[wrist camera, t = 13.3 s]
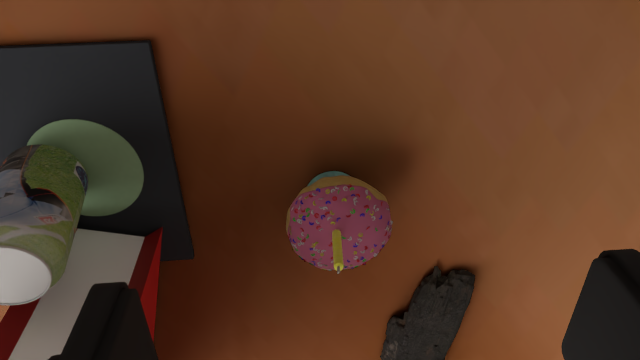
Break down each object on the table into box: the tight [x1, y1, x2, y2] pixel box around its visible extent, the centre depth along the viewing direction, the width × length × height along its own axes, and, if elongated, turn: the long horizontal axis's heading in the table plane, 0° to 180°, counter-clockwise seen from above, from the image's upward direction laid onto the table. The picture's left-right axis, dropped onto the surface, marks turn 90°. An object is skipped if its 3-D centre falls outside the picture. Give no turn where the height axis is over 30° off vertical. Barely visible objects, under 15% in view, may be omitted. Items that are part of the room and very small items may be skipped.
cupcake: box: [286, 171, 393, 274], centre depth 38 cm, size 9×8×12 cm
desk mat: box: [0, 40, 194, 261], centre depth 39 cm, size 20×14×1 cm
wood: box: [380, 266, 475, 360], centre depth 53 cm, size 22×7×3 cm, turn 171°
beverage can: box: [0, 144, 89, 305], centre depth 34 cm, size 6×7×12 cm
